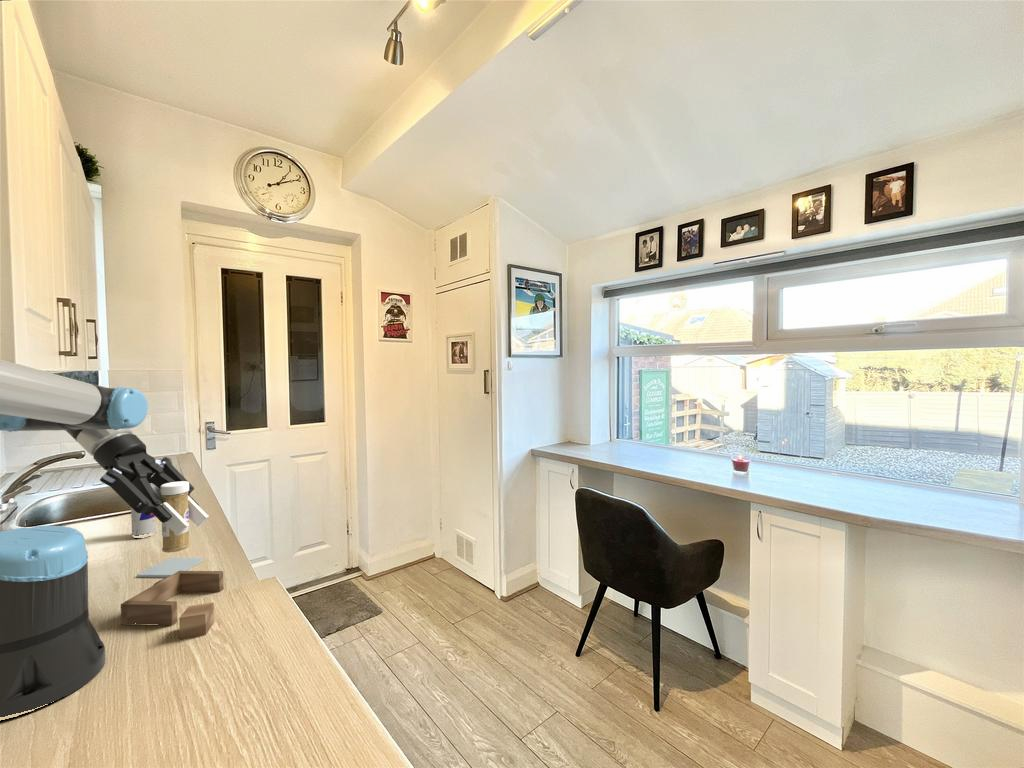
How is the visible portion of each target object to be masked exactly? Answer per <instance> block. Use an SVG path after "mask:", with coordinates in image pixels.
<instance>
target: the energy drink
mask: <svg viewBox="0 0 1024 768" xmlns="http://www.w3.org/2000/svg"><path fill="white" fill-rule="evenodd" d="M139 504H140V505H141V503H139ZM145 512H146V511H143V512H142V513H137V512H136V511H135V510H134V509H133V508H132V507H131V506H130V513H131V514H130V517H131V536H132V535H134V536H139V535H144V534H149V533H151V532H154V531H155V530H156V531H157V523H156V522H157V520H156V519H157V517H156V516H155V515H154V514H153V513H151V515H145V514H144V513H145Z"/></svg>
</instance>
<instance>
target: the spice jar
mask: <svg viewBox="0 0 1024 768" xmlns="http://www.w3.org/2000/svg"><path fill="white" fill-rule="evenodd" d="M189 483H190V482H189V481H188V482H186V481H178V482H171V483H166V484H163V485H161V489H160V496H161V505H162V504H163V503H165V502H167V503H168V504H169V505H170V506H171V507H172V508H173V509H174V510H175V511H176V512H177V513H178V514H179V515H180V516H181V517H182V518H183V519H184V520H185V521H186V522H187V523H188V524H189V526H188V527H187V528H186V529H185V530H184V531H183V532H182V533H181V534H180V535H178V536H177V535H176V534H175V533H174V532H173V531H172V530H171V529H170V528H169V527H168V526H167V525H166V524H165V523H162V522H161V536H162V548H161V550H162V552H163V553H176V552H180V551H182V550H183V551H184V550H186V549H187V548H189V547H190V545H191V542H190V519H189V509H188V493H189V492H188V491H189Z"/></svg>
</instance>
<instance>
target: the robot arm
mask: <svg viewBox="0 0 1024 768" xmlns="http://www.w3.org/2000/svg"><path fill="white" fill-rule="evenodd" d="M148 409H149V404H148V400H147V397H146V396H145V394H143V392H141V391H140V390H138V389H136V388H127V387H120V386H119V387H115V388H114V387H105V386H101V385H99V384H95V383H89V382H86V381H81V380H79V379H78V380H77V379H75V378H70V377H66V376H64V375H59V374H56V373H52V372H49V371H44V370H41V369H39V368H33V367H30V366H26V365H23V364H18V363H17V362H16V363H15V362H11V361H8V360H4V359H0V431H7V432H9V433H12V432H24V431H26V432H32V431H33V432H36V431H42V432H43V431H65V432H66V433H68V434H69V435H70V436H71V437H72V438H73V440H75V441H76V442H77V443H78V444H79V445H80V446H81V447H82V448H83V449H84V450H85V452H87V453H88V454H89V455H90V456H92V457H93V460H94V461H95V462H96V463H98V465H99V466H100V467H101V468H102V469H103V470H105V471H106V472H105V473H104V474H103V475H102V476H101V477H100V479H99V481H100V482H101V483H103V484H104V485H106V486H108V487H110V488H111V489H112V490H113V491H114V492H115V493H116V494H117V495H118V496H119V497H120V498H121V499H122V500H123V501H124V502H125V503H127V504H128V506H129V507H130V508H131V507H132V508H133V509H134V510H135V511H136V512H137V513H142V512H143V511H146V512H145V513H144V514H145V515H151V513H153V514H154V515H155V516H156V519H157V520H159V521H160V523H161V524H162V523H165V524H166V525H167V526H168V527H169V528H170V529H171V530H172V531H173V532H174V533H175V534H176V535H177V536H178V535H180V534H181V533H182V532H183V531H184V530H185V529H186V528H187V527H188V526H189V527H190V523H189V524H188V523H187V522H186V521H185V520H184V519H183V518H182V517H181V516H180V515H179V514H178V513H177V512H176V511H175V510H174V509H173V508H172V507H171V506H170V505H169V504H168V503H167V502H165V503H163V504H162V500H161V499H160V497H159V496H158V495H157V493H156V492H155V490H154V488H153V487H152V485H151V484H153V485H154V486H156V487H157V488H158V489H161V485H163V484H166V483H171V482H178V481H186V482H189V481H188V479H186V478H185V477H184V475H182V474H181V472H180V471H179V470H177V468H176V467H175V466H174V465H173V464H172V462H171V460H170V458H169V457H167V456H165V457H163V458H162V459H156V458H155V457H154V456H152V455H150V454H148V453H147V452H148V451H147V445H146V444H145V443H144V442H143V441H142V440H141V439H140V437H138V436H137V435H136V434H134V432H133V430H132V429H133V428H136V427H138V426H140V425H141V424H142V423H143V422H144V421H145V419H146V417H147V414H148ZM194 490H195V487H194V486H193V485H192V484H191V483H190V482H189V491H188V492H189V493H188V509H189V521H190V520H191V522H192V523H193V524H195V525H196V527H200V526H201V525H202V524H203V523H205V521H206V520H208V518H209V517H210V516H209V515H208V514H207V513H206V512H205V511H204V510H203V509H202V508H201V507H200V505H199V503H198V502H197V501H196V500H195V499H194V498H193V497H192V496H191V493H192V492H193V491H194ZM139 503H141V505H140V504H139ZM88 554H89V553H88V550H87V546H86V539H85V536H84V534H83V533H82V532H81V531H79V530H78V529H76V528H73V527H70V526H63V525H36V526H33V527H18V528H13V529H12V528H11V529H8V530H4V531H3V530H2V531H0V717H5V716H8V715H12V714H16V713H21V712H24V711H28V710H32V709H35V708H37V707H40V706H43V705H45V704H49V703H51V702H53V701H56V700H58V699H60V698H62V697H64V698H65V696H66V697H67V696H69V695H70V694H72V693H74V692H76V691H77V690H79V689H80V688H82V687H84V686H85V685H86V684H88V683H89V682H90V681H92V680H93V679H94V678H95V677H96V676H97V675H98V674H99V673H100V672H101V671H102V670H103V668H104V666H105V665H106V662H105V661H106V659H107V655H106V647H105V643H104V642H103V641H102V640H101V638H100V635H99V634H98V631H96V628H95V627H94V625H93V623H92V621H91V619H90V616H89V615H90V614H89V571H88V570H89V569H88V568H89V567H88V564H89V562H88V559H89V555H88ZM104 664H105V665H104ZM101 669H102V670H101ZM62 699H63V698H62ZM60 700H61V699H60ZM58 701H59V700H58ZM56 702H57V701H56Z"/></svg>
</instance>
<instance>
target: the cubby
mask: <svg viewBox="0 0 1024 768" xmlns="http://www.w3.org/2000/svg"><path fill="white" fill-rule="evenodd" d="M163 579H164V580H162V579H161V580H162V581H160V580H159V581H160V582H159V583H157V584H155V583H154V584H155V585H154V584H153V585H151V586H150V587H149V588H147V589H145V590H143V591H142V592H141V591H140V593H137V594H135V595H134V596H132V597H131V598H129V599H127V600H125V601H123V602H122V603H121V604H120V625H121V624H135V623H136V624H158V625H157V626H162V625H172V626H174V625H176V624H177V623H178V622H179V619H178V601H176V600H173V601H171V600H169V599H171V598H173V597H174V596H176V595H177V594H179V593H180V592H196V593H199V592H202V593H204V592H205V593H207V592H209V593H210V592H212V593H214V592H215V593H219V592H220V593H221V592H222V591H223V590H224V589H225V588H224V587H225V586H224V585H225V584H224V570H187V571H178V572H176V573H174V574H173V575H171V576H169V577H167V578H166V579H165V578H163ZM177 621H178V622H177ZM176 622H177V623H176Z"/></svg>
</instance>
